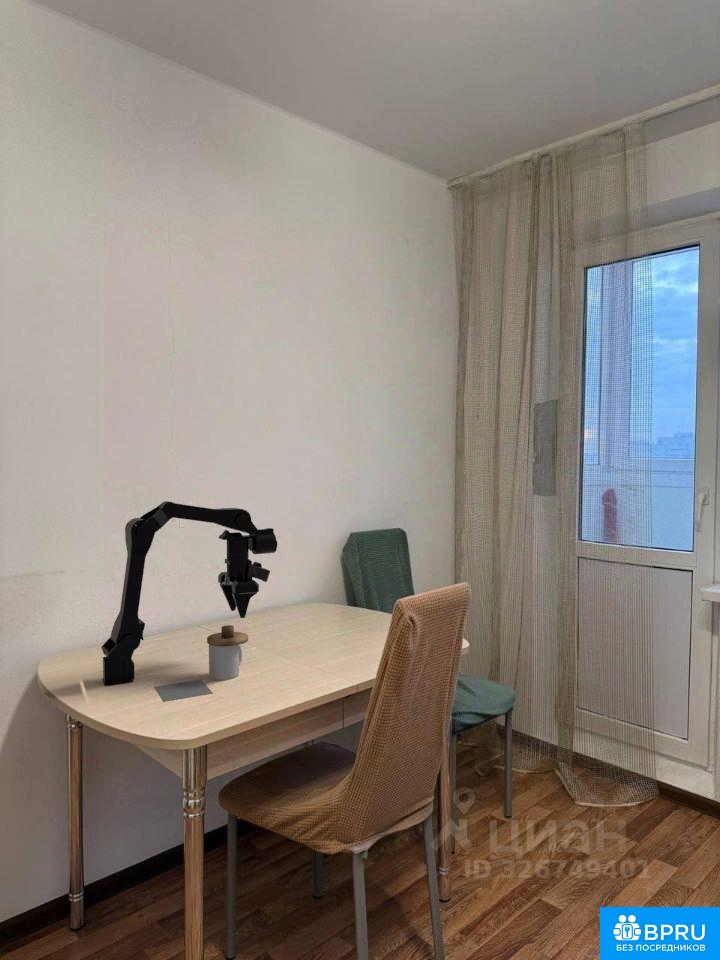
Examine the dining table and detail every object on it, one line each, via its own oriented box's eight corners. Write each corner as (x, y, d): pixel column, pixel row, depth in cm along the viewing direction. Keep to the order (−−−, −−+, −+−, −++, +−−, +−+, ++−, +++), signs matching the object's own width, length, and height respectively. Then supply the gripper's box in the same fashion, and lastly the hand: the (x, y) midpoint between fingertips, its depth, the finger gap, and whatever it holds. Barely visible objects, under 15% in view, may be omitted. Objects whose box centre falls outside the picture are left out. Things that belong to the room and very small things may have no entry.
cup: (203, 679, 164) (202, 643, 164) (230, 668, 173) (229, 634, 173) (225, 684, 161) (225, 647, 161) (252, 672, 170) (251, 637, 169)
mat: (163, 704, 148) (163, 701, 148) (154, 689, 158) (154, 686, 158) (213, 695, 153) (212, 693, 153) (201, 681, 163) (200, 679, 163)
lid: (212, 648, 160) (212, 633, 160) (202, 638, 169) (202, 624, 169) (253, 643, 164) (253, 628, 164) (241, 633, 173) (241, 620, 173)
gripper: (278, 558, 173) (278, 618, 173) (256, 549, 190) (256, 604, 190) (235, 561, 168) (235, 623, 168) (217, 552, 185) (217, 608, 185)
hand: (237, 614), depth 178 cm, fingers open, 9 cm apart
